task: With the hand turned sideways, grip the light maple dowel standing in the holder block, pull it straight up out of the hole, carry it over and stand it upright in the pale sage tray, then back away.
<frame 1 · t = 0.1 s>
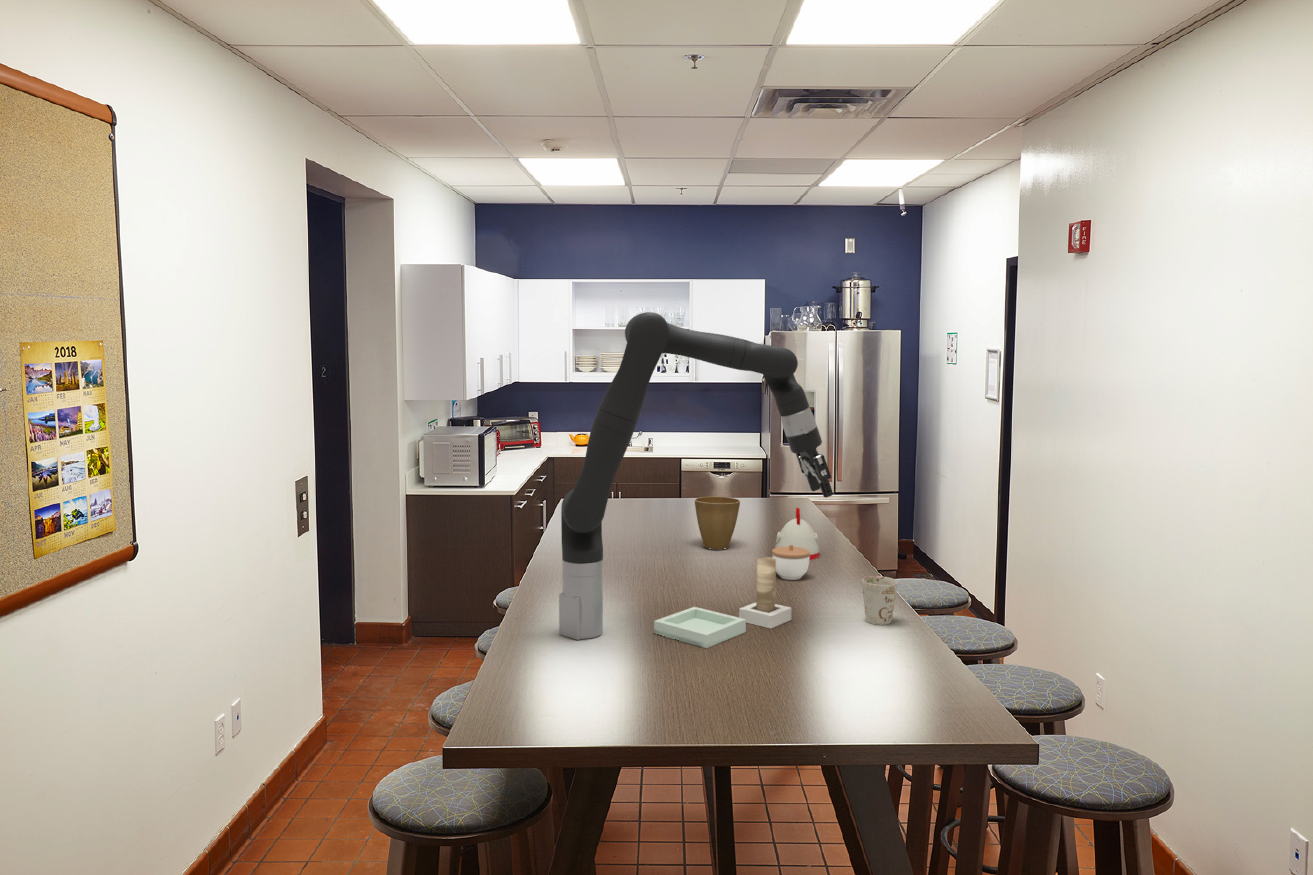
hand: (822, 493, 209), 31 cm above the table, tool tilted 20°, fingers open, 8 cm apart
holder block: (765, 620, 213), on the table
lidded jar: (790, 577, 254), on the table
chicken shaped dome: (796, 555, 281), on the table
dowel: (765, 589, 212), in the holder block
tray: (700, 632, 203), on the table
plant pot: (716, 548, 290), on the table
mug: (874, 619, 215), on the table
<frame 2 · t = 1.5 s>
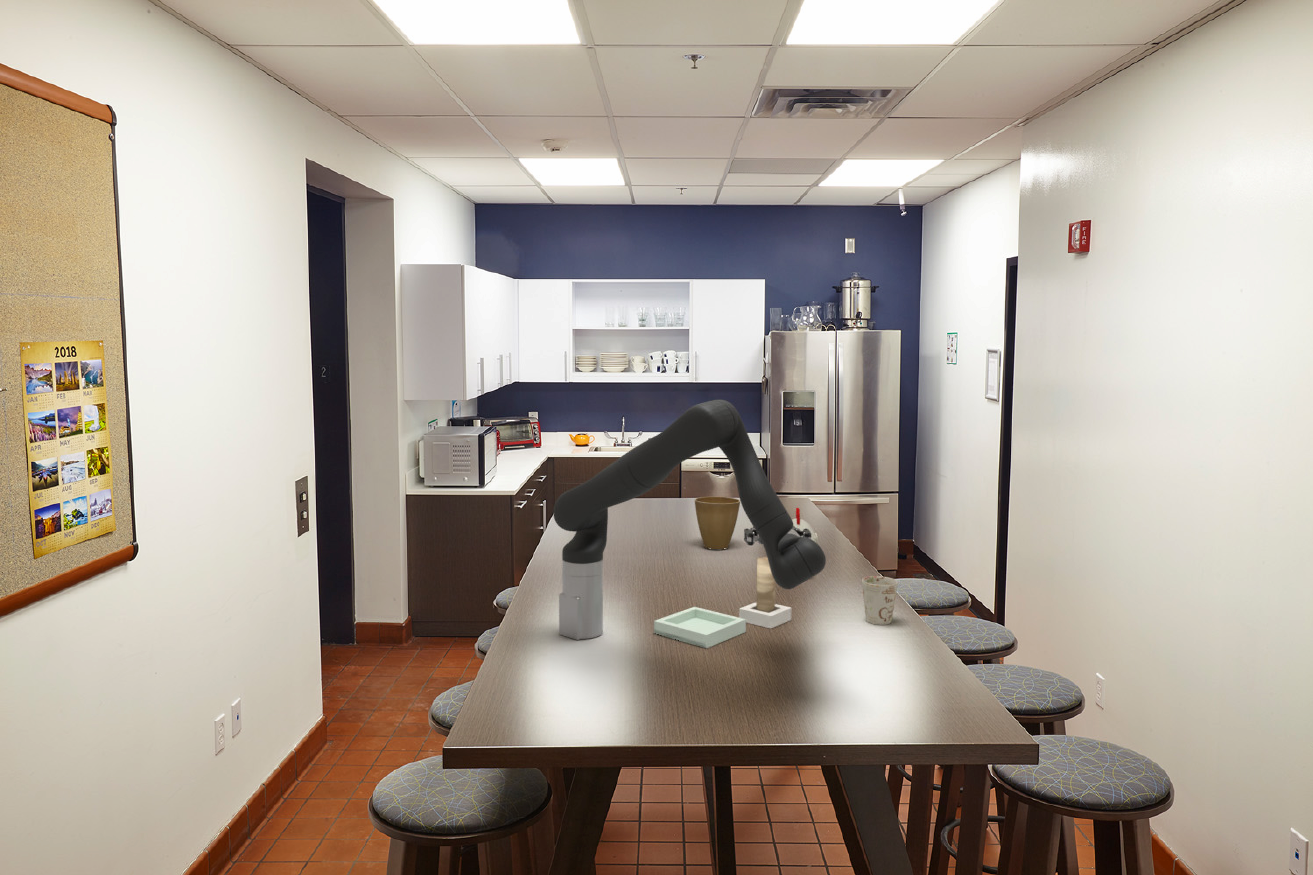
hand: (773, 530, 200), 24 cm above the table, tool horizontal, fingers open, 8 cm apart
nothing on the table moved.
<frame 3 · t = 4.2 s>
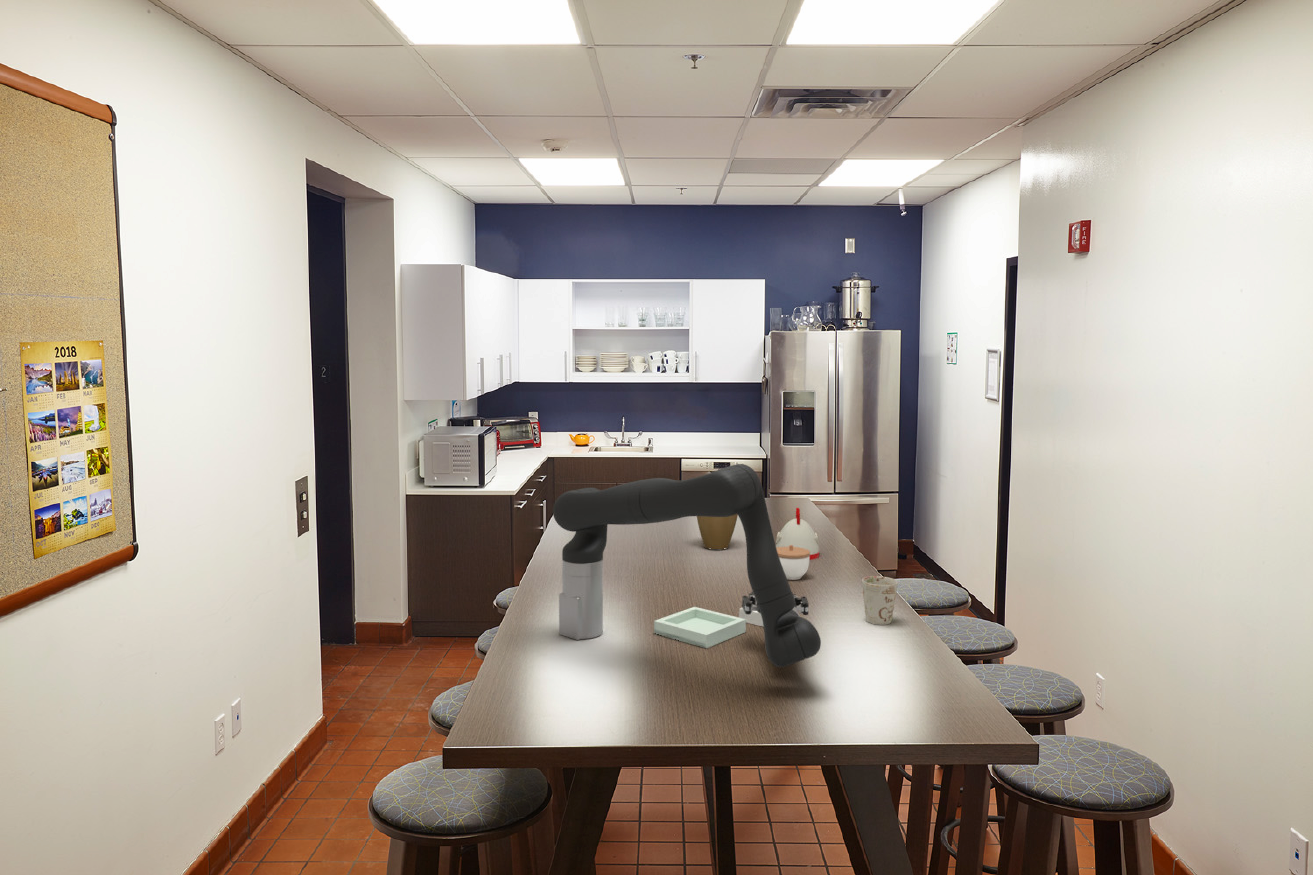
hand: (771, 595, 202), 9 cm above the table, tool horizontal, fingers open, 8 cm apart
nothing on the table moved.
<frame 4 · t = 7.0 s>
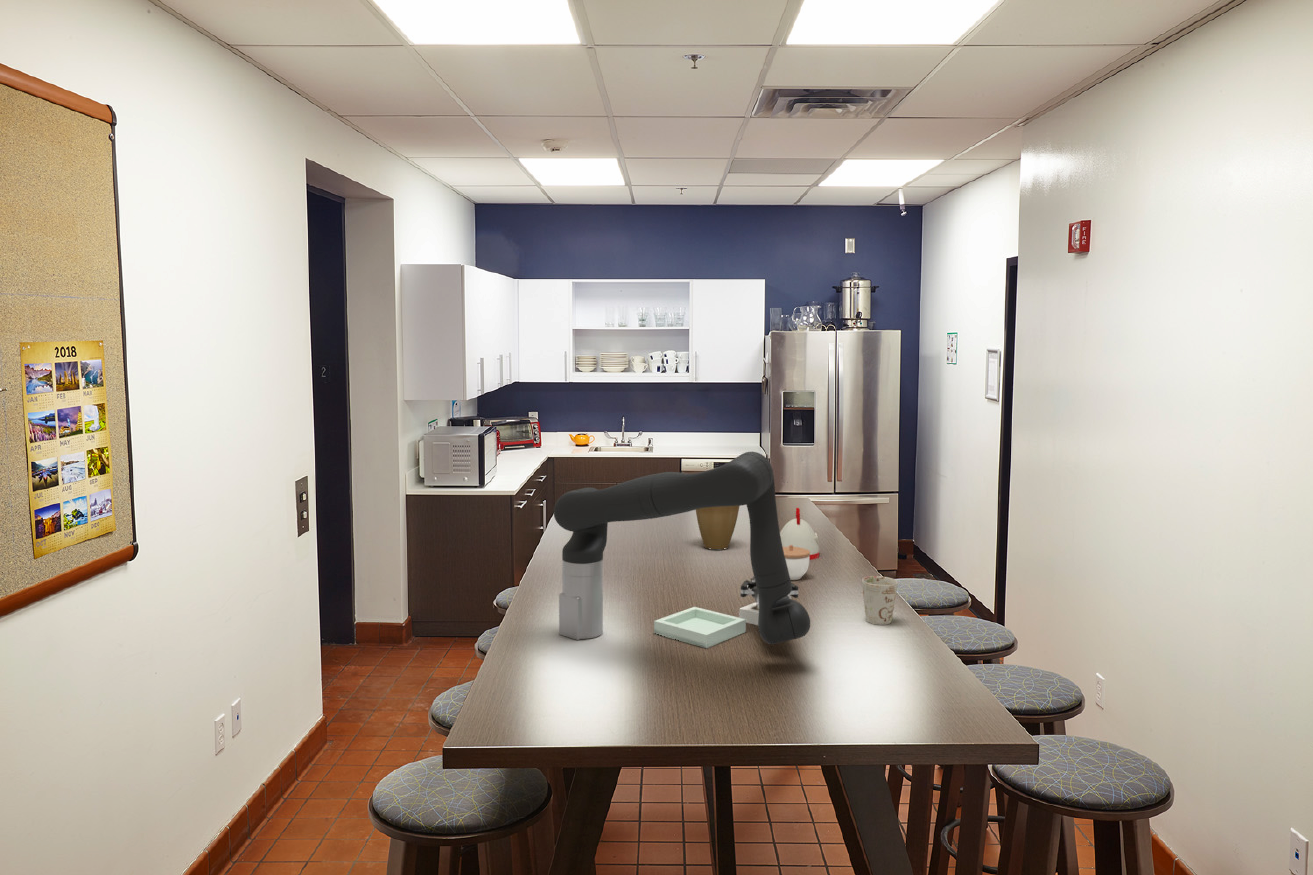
hand: (764, 580, 215), 9 cm above the table, tool horizontal, fingers closed on dowel, 4 cm apart
dowel: (765, 589, 212), in the holder block, touching gripper
everything else where it was.
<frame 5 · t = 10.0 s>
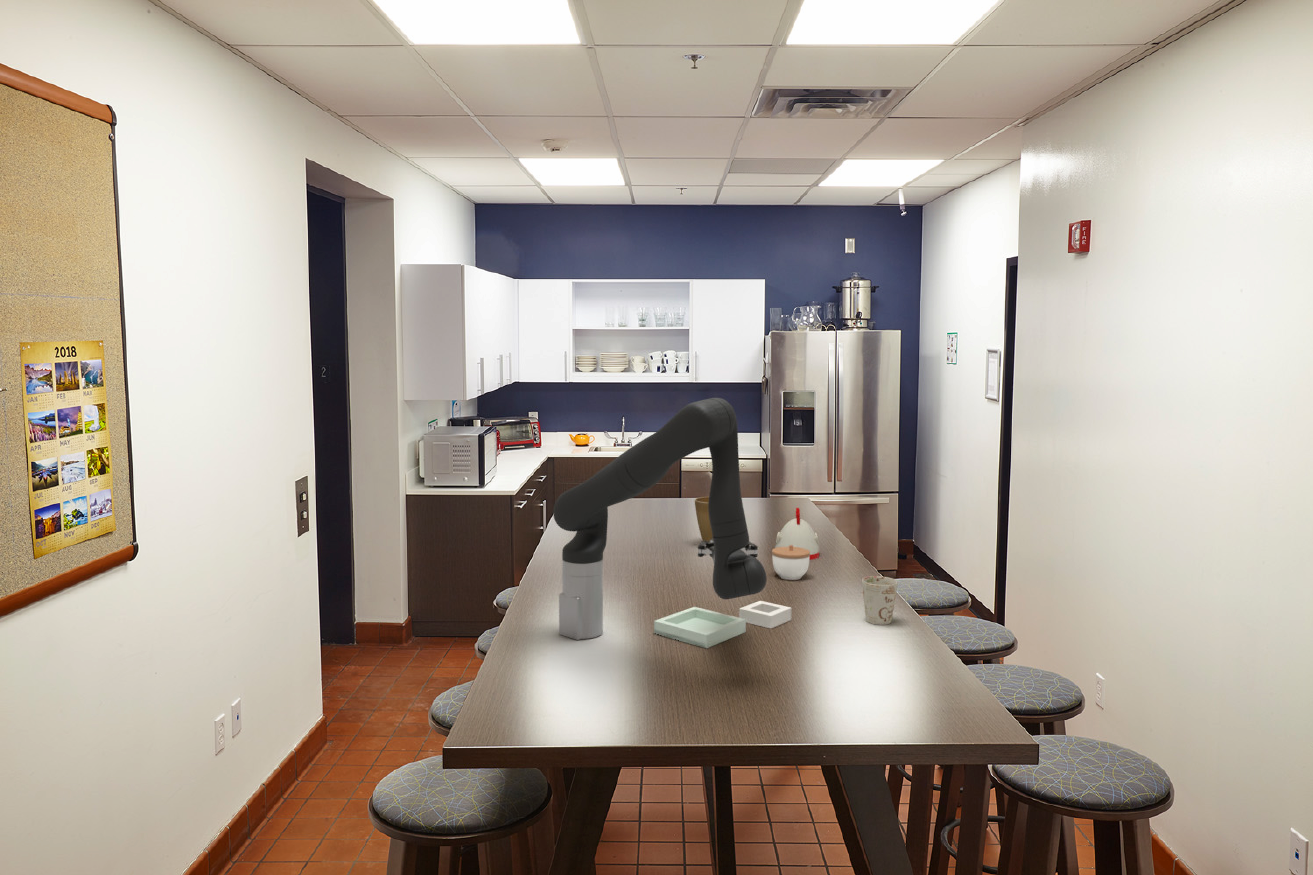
hand: (723, 541, 208), 20 cm above the table, tool horizontal, fingers closed on dowel, 4 cm apart
dowel: (725, 550, 206), point 18 cm above the table, touching gripper
everything else where it was.
when the fingers open (11 cm above the table, at t = 12.9 s): dowel drops 1 cm, resting on tray.
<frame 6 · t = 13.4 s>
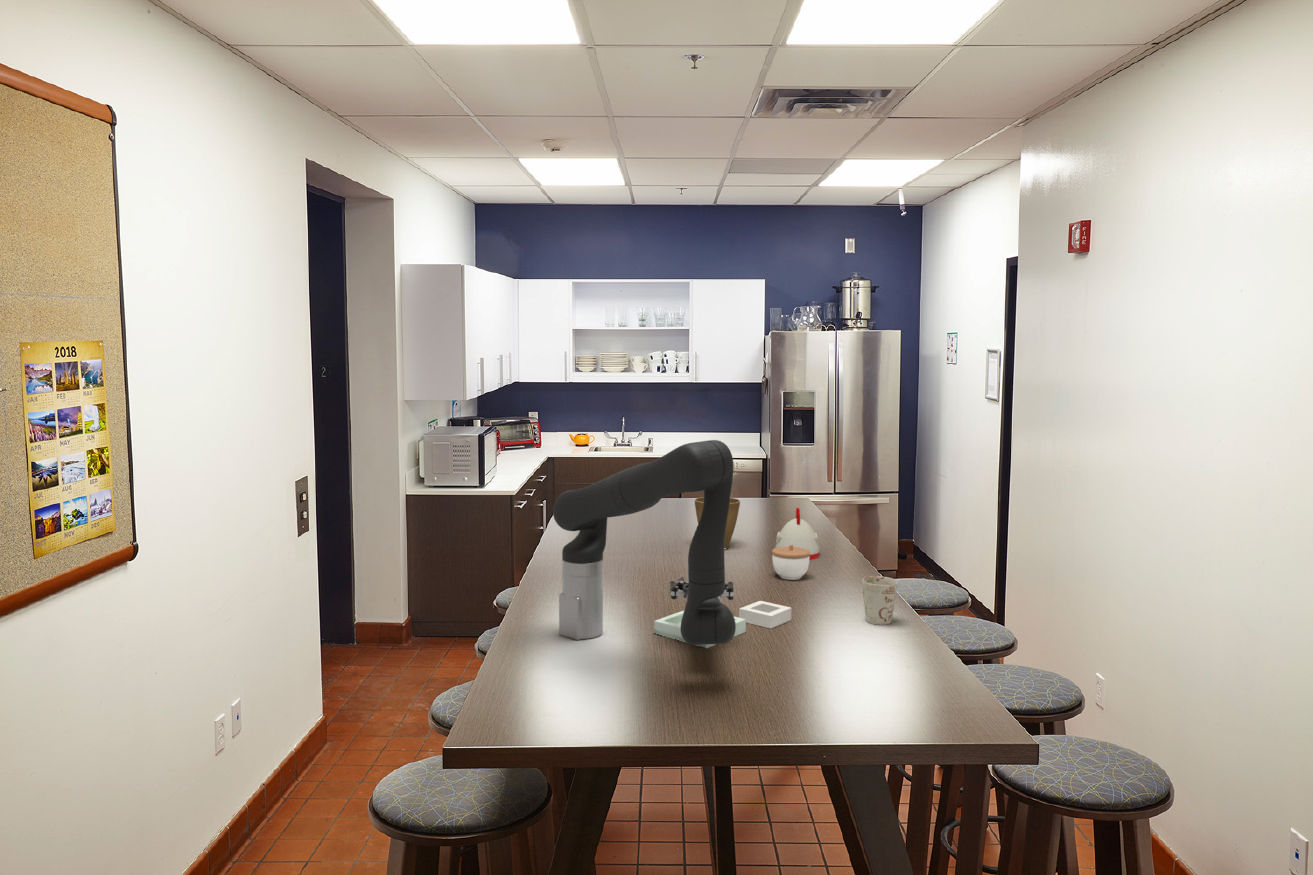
hand: (700, 581, 204), 12 cm above the table, tool horizontal, fingers open, 8 cm apart
dowel: (700, 596, 202), in the tray, point 8 cm above the table
everything else where it was.
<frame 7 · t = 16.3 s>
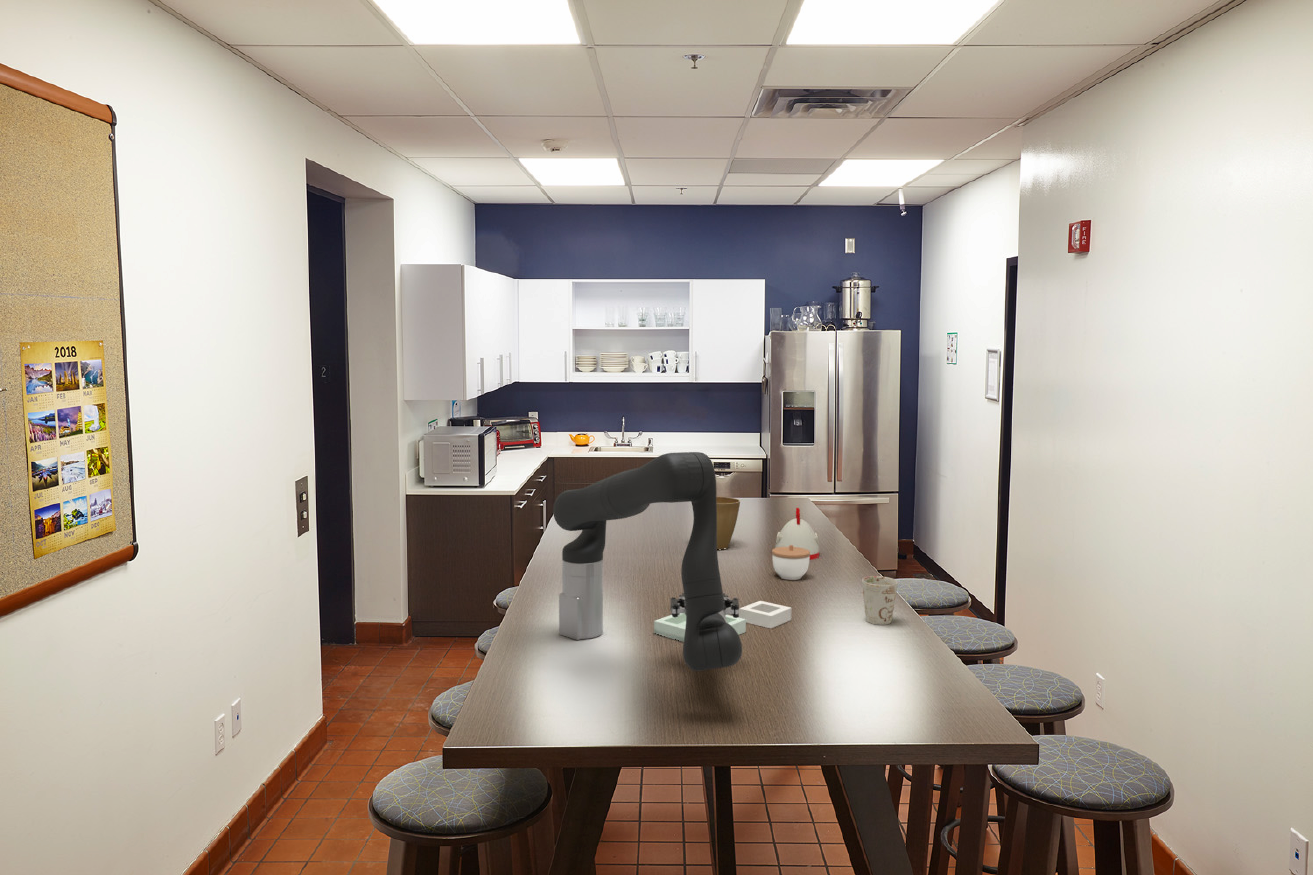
hand: (703, 597, 191), 12 cm above the table, tool horizontal, fingers open, 8 cm apart
nothing on the table moved.
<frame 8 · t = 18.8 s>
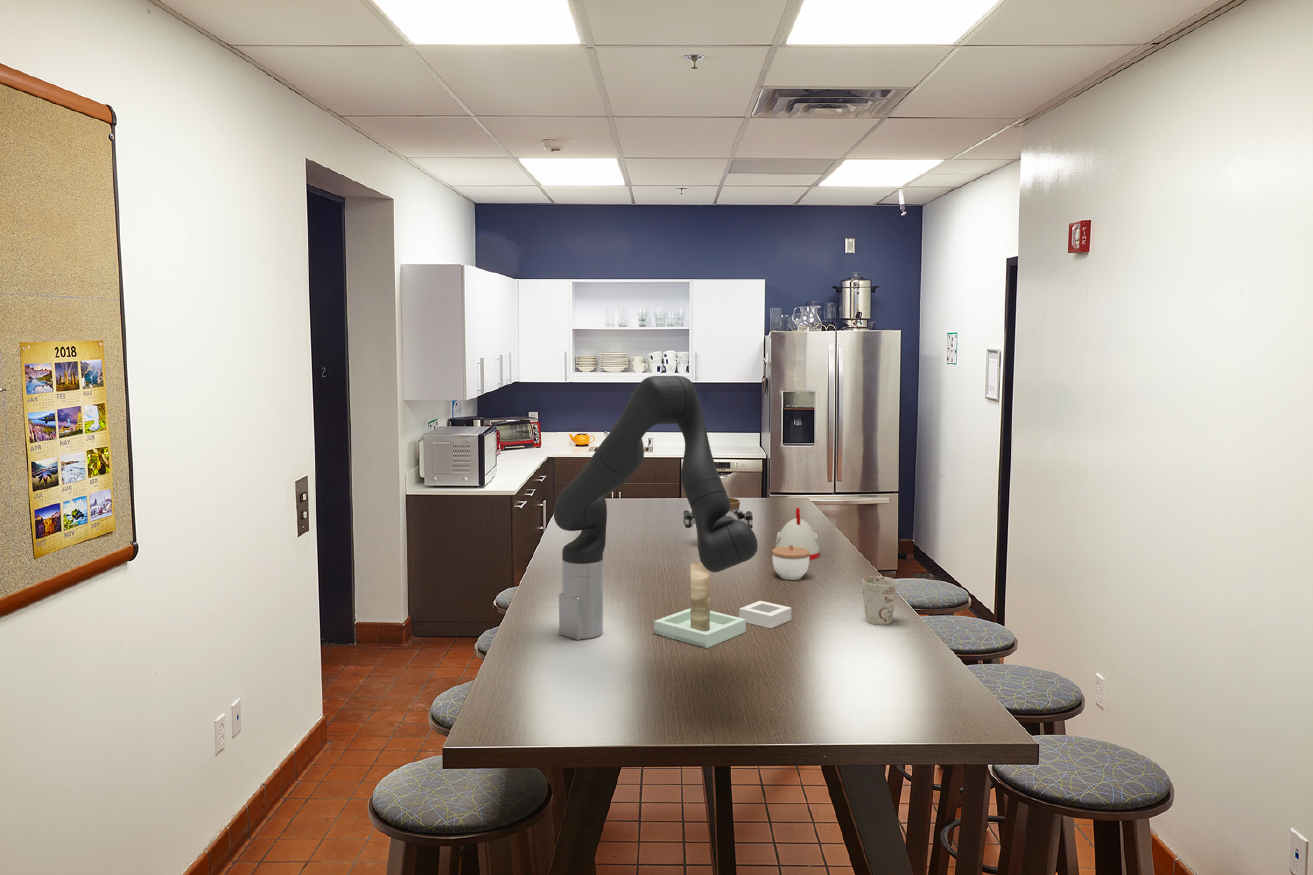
hand: (715, 512, 190), 30 cm above the table, tool horizontal, fingers open, 8 cm apart
nothing on the table moved.
at the end: dowel inside the target area on the tray (0.1 cm from its centre), point 8.5 cm above the tray's base; dowel tilted 1°; the gripper is holding nothing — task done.
